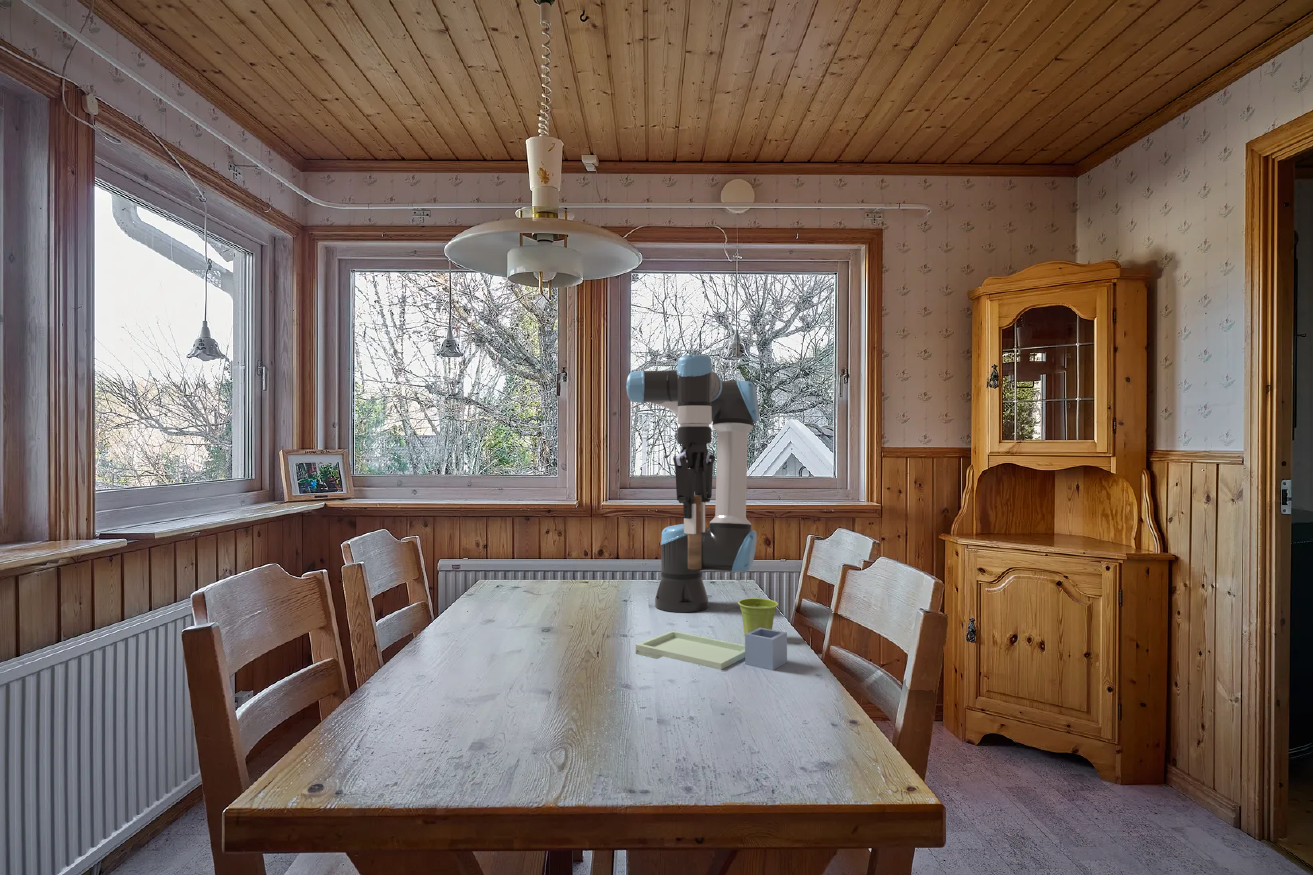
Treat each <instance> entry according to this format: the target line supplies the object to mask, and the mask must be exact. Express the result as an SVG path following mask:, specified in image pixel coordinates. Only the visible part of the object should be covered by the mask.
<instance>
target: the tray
mask: <svg viewBox="0 0 1313 875" xmlns="http://www.w3.org/2000/svg"><path fill="white" fill-rule="evenodd" d="M635 654H636V655H640V656H645V657H649V658H654V659H657V660H658V659H661V658H664V657H665V658H667V659H668V658H669V659H671V660H677V661H681V662H686V663H690V664H693V665H694V664H695V665H699V666H703V667H707V668H712V669H716V670H724V669H725V668H727V667H729V666H731V665H733V664H735V663H737V662H739V661H742V660H743V659H745V644H742V643H736V642H731V641H727V640H726V641H725V640H721V639H717V638H711V637H707V636H702V635H696V634H692V633H687V632H682V631H676V630H669V631H667V632H664V633H661V634H660V635H656V636H654V637H652V638H649V639H646V640H644V641H642V642H638V643H637V644H635Z"/></svg>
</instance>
